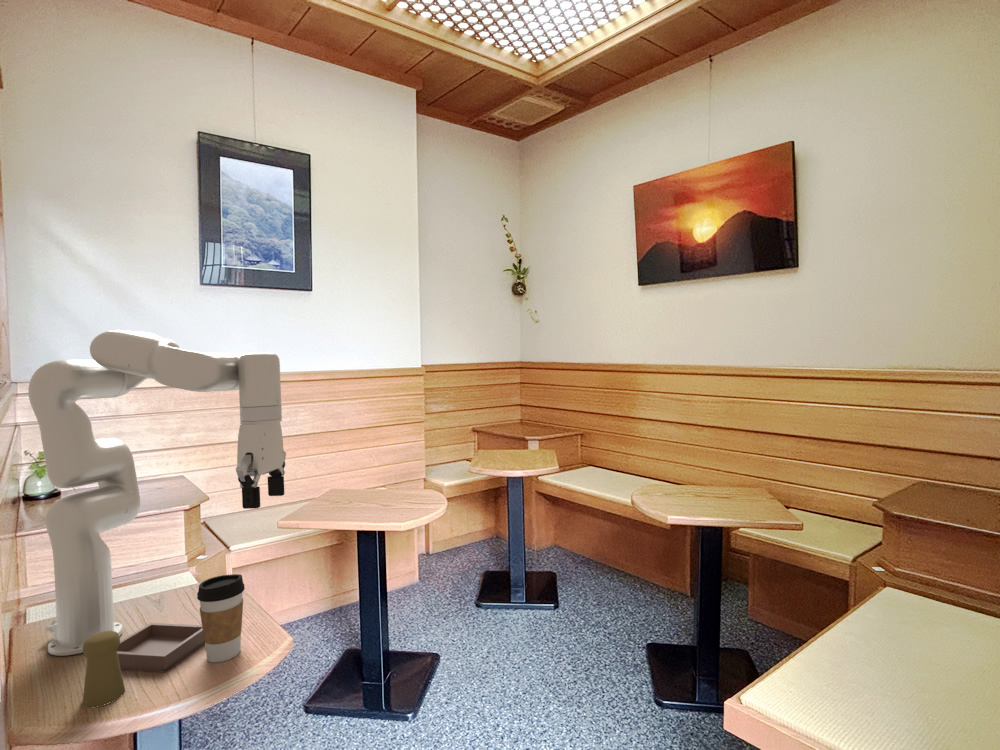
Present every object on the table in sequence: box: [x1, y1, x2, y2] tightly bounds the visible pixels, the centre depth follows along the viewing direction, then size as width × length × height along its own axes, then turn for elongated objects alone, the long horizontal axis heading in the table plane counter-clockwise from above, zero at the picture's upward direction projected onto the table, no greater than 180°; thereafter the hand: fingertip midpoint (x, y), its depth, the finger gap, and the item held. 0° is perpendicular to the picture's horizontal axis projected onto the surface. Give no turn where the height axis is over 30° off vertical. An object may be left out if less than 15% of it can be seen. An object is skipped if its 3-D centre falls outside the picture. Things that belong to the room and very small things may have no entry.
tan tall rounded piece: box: [81, 631, 126, 709], centre depth 92 cm, size 6×6×11 cm
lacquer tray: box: [117, 622, 205, 673], centre depth 106 cm, size 14×12×3 cm
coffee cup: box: [196, 573, 245, 663], centre depth 105 cm, size 8×8×15 cm
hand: (264, 501), depth 104 cm, fingers open, 9 cm apart
